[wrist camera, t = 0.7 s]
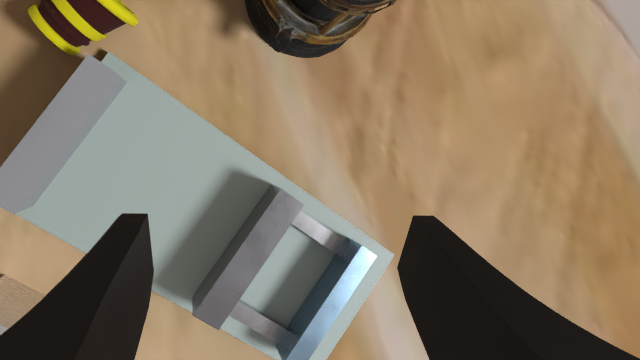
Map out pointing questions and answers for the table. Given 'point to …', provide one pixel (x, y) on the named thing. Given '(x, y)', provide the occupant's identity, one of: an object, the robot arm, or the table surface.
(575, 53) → the table surface
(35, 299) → the steel block
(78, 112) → the vise
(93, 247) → the robot arm
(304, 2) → the lantern
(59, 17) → the opera glasses
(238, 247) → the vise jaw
